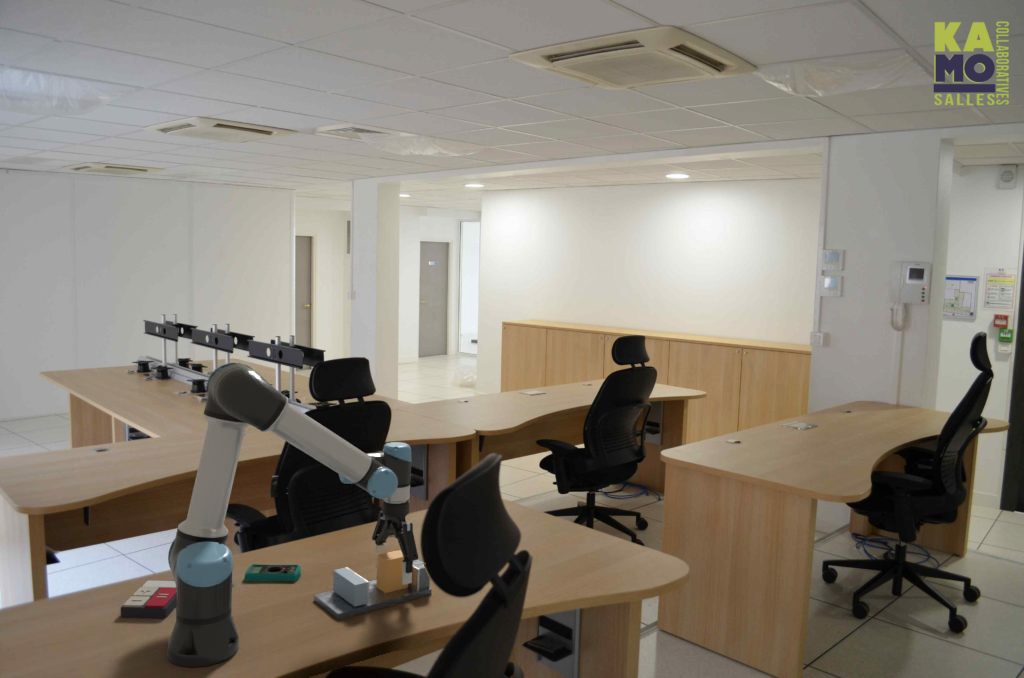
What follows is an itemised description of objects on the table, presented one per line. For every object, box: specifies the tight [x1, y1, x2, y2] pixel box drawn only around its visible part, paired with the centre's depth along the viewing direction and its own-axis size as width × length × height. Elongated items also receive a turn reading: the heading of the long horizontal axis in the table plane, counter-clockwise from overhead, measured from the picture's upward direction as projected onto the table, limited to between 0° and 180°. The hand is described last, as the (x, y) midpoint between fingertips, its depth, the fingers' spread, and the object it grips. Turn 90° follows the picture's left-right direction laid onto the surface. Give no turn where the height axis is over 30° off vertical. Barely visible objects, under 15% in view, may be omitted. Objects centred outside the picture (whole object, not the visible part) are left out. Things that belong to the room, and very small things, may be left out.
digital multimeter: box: [244, 563, 302, 583], centre depth 215 cm, size 7×15×3 cm, turn 96°
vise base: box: [313, 559, 432, 621], centre depth 204 cm, size 28×14×8 cm, turn 130°
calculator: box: [120, 580, 177, 620], centre depth 194 cm, size 11×4×15 cm
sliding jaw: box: [332, 566, 370, 607], centre depth 200 cm, size 4×12×6 cm, turn 40°
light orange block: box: [376, 549, 408, 593], centre depth 208 cm, size 7×5×9 cm
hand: (393, 575), depth 208 cm, fingers open, 13 cm apart
